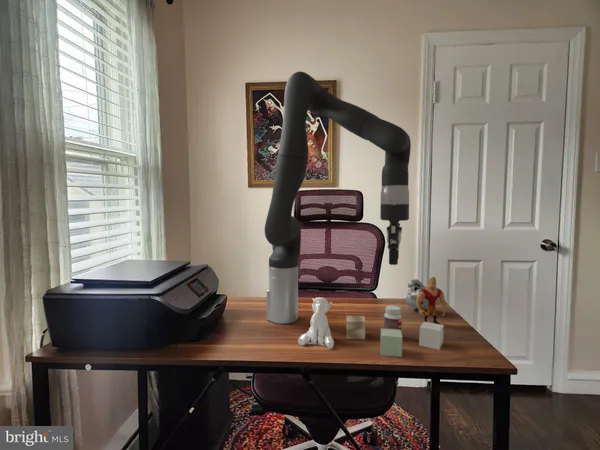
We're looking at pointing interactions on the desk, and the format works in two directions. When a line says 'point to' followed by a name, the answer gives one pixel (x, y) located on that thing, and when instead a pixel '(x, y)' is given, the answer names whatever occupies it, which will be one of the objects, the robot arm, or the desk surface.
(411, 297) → the heart
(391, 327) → the pill bottle
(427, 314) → the action figure
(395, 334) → the sage block
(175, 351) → the desk surface
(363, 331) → the birch block
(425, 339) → the grey block
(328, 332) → the white creature statuette
